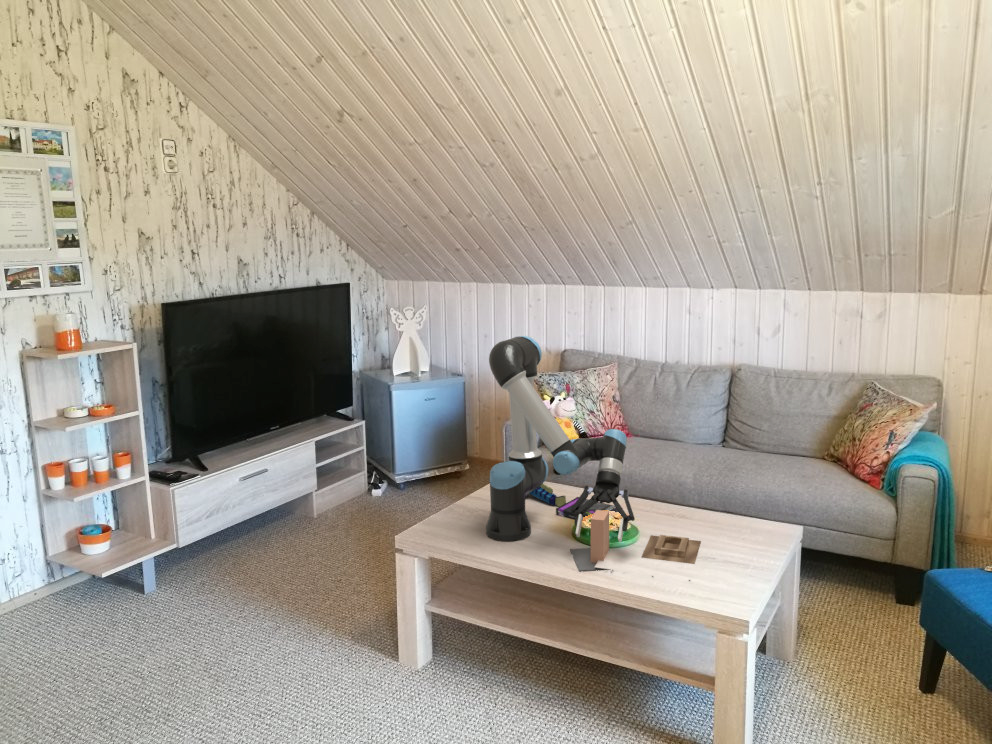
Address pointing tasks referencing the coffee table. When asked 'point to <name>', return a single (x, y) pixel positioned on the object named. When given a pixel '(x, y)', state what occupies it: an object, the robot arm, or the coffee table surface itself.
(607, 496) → the robot arm
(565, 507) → the box
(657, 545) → the slot holder
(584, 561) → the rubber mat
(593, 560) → the brown rectangular block
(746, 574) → the coffee table surface
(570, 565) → the coffee table surface
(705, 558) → the coffee table surface
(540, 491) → the toy
